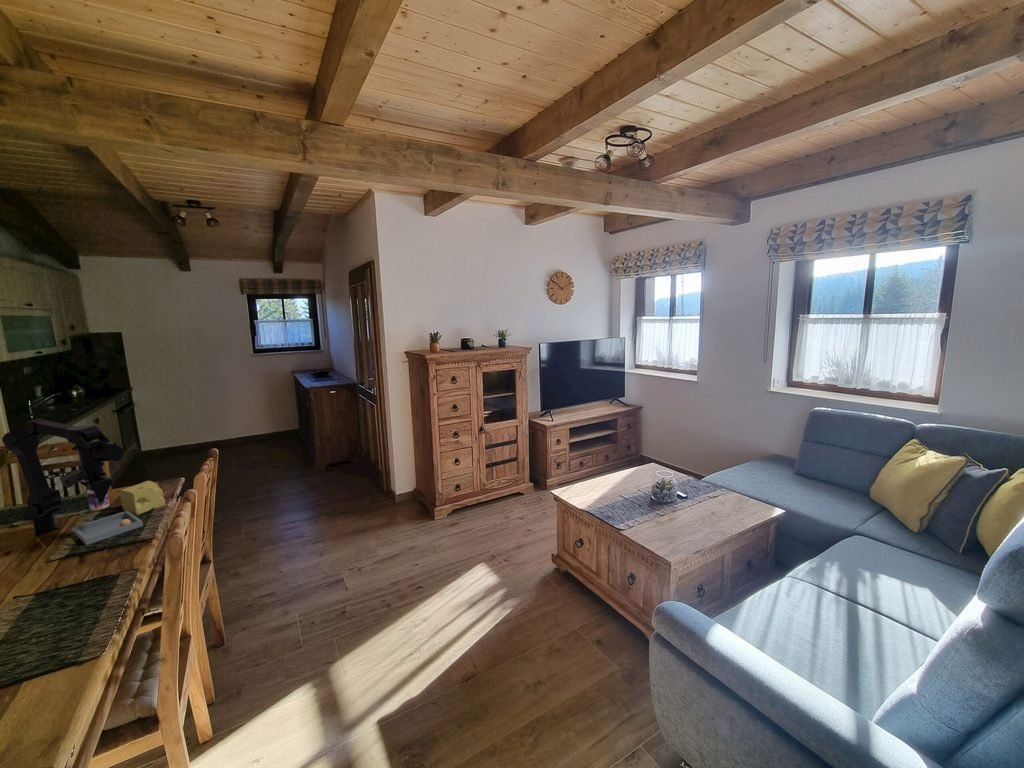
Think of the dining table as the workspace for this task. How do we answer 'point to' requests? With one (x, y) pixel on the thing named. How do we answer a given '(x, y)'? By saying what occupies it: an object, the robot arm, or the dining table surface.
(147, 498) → the cheese
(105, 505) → the pill bottle
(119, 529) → the tray
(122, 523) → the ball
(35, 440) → the robot arm
